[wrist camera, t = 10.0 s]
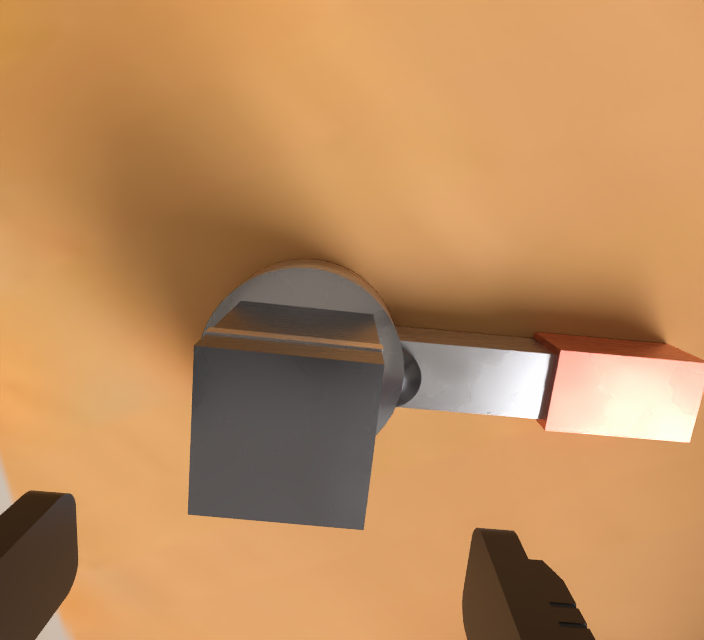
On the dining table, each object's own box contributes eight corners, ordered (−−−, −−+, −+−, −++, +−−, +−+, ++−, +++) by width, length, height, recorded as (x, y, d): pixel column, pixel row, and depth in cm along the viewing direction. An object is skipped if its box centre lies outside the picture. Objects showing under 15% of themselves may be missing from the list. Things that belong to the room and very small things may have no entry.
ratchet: (679, 293, 22) (797, 327, 16) (638, 459, 24) (731, 542, 18) (220, 250, 22) (173, 270, 16) (214, 423, 24) (170, 498, 18)
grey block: (374, 312, 19) (386, 362, 13) (359, 436, 20) (365, 531, 15) (239, 299, 19) (192, 343, 13) (232, 424, 20) (185, 516, 14)
